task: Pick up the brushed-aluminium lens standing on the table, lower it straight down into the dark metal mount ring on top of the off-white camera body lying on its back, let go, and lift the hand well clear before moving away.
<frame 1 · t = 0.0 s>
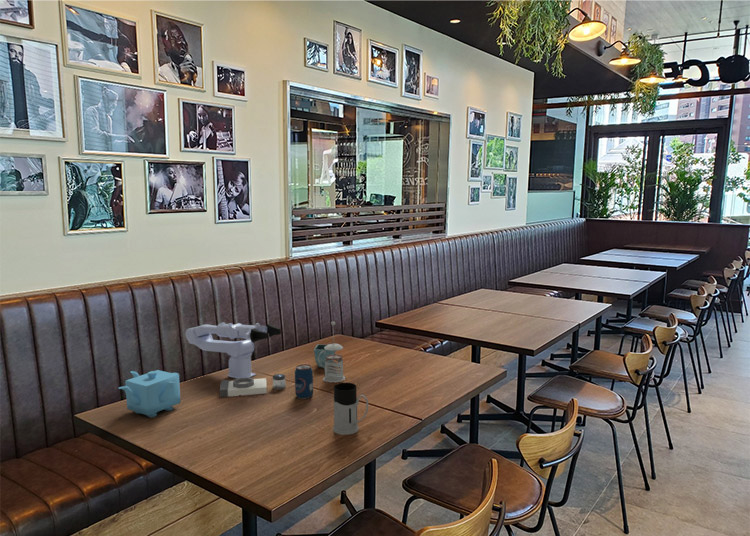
hand: (273, 333, 223), 22 cm above the table, tool horizontal, fingers open, 7 cm apart
lens: (279, 387, 223), on the table
french press: (332, 379, 233), on the table
teakettle: (152, 412, 199), on the table
grey and black mug: (351, 431, 181), on the table
soda can: (304, 396, 213), on the table
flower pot: (325, 366, 250), on the table
camera body: (243, 390, 220), on the table
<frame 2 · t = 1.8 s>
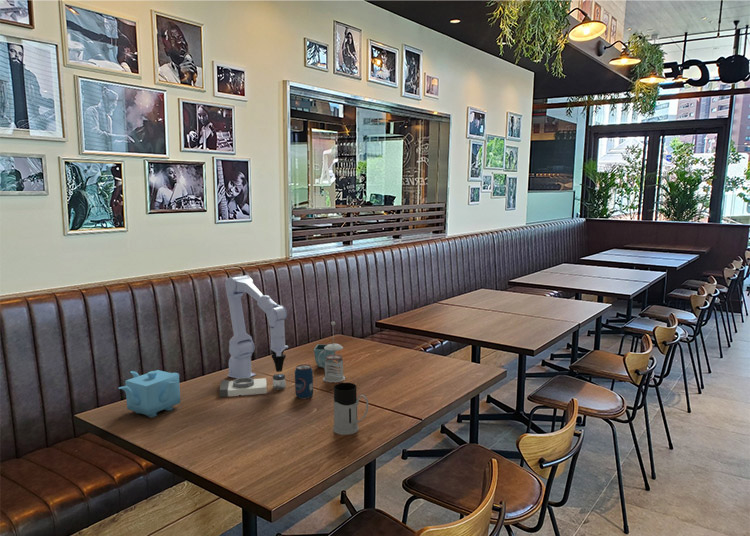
hand: (278, 368, 221), 8 cm above the table, tool pointing down, fingers open, 7 cm apart
nothing on the table moved.
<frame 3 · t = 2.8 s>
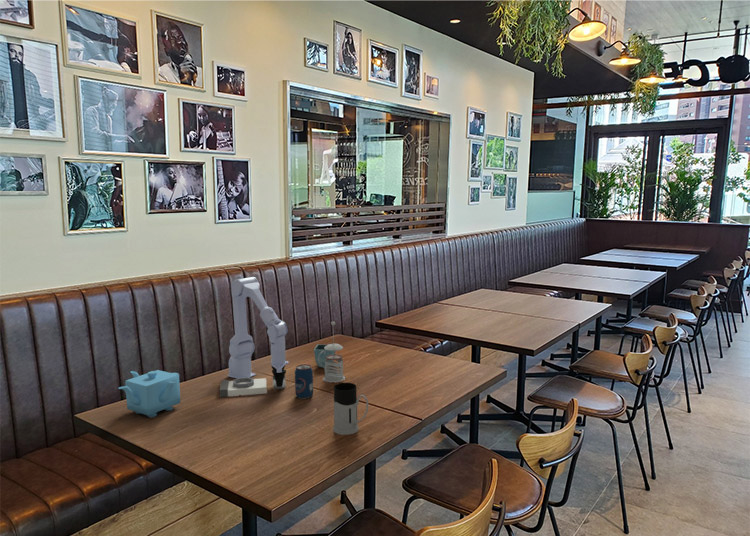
hand: (279, 384, 222), 1 cm above the table, tool pointing down, fingers closed on lens, 5 cm apart
lens: (279, 387, 223), on the table, touching gripper
everything else where it was.
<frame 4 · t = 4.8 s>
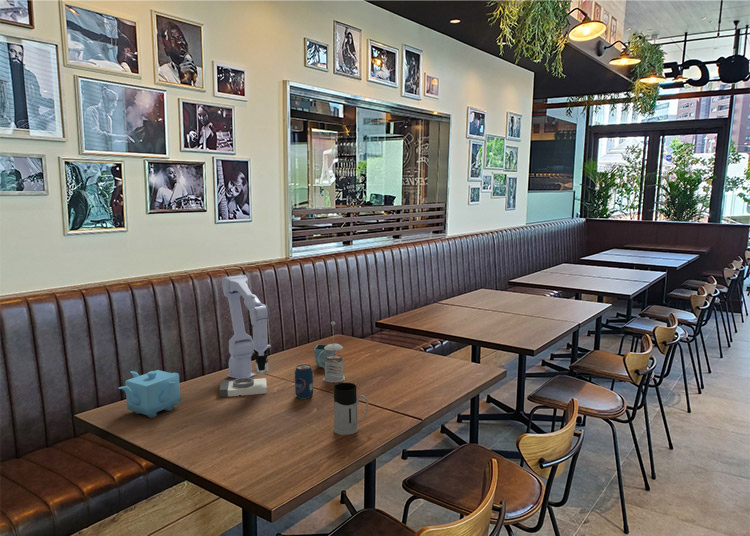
hand: (261, 367, 220), 9 cm above the table, tool pointing down, fingers closed on lens, 5 cm apart
lens: (262, 371, 220), point 7 cm above the table, touching gripper
everything else where it was.
when the fingers open (5 cm above the table, at t = 6.7 s): lens stays where it is, resting on camera body.
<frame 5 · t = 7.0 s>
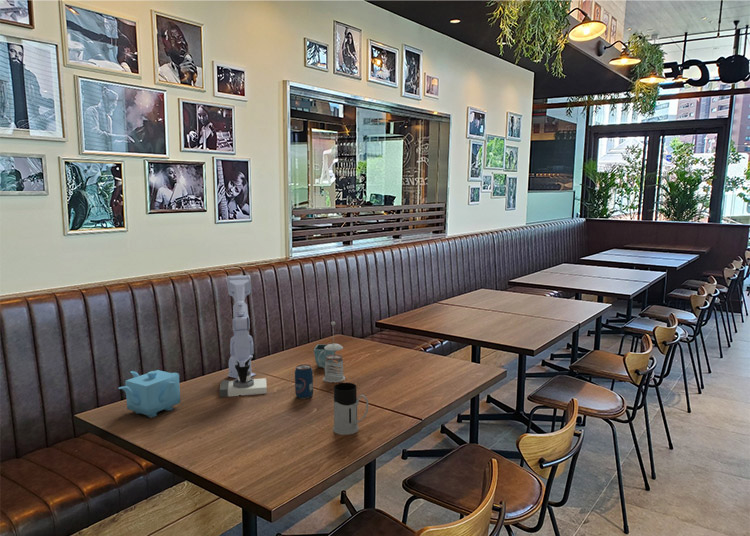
hand: (243, 378, 219), 5 cm above the table, tool pointing down, fingers open, 7 cm apart
lens: (244, 384, 219), point 3 cm above the table, touching camera body
everything else where it was.
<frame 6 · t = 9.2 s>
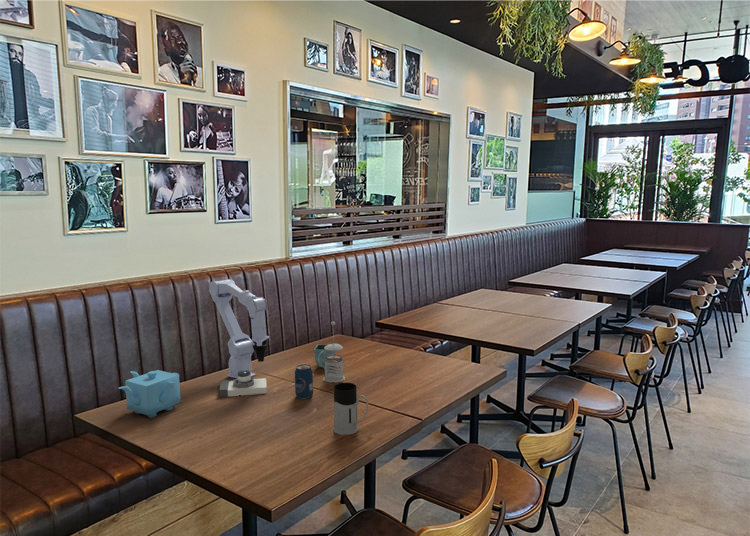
hand: (261, 359, 226), 10 cm above the table, tool pointing down, fingers open, 7 cm apart
nothing on the table moved.
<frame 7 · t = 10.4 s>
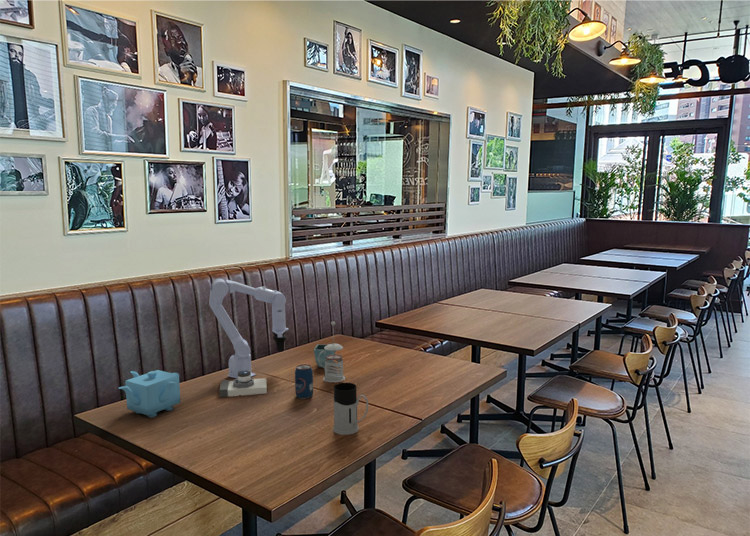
hand: (279, 349, 241), 10 cm above the table, tool pointing down, fingers open, 7 cm apart
nothing on the table moved.
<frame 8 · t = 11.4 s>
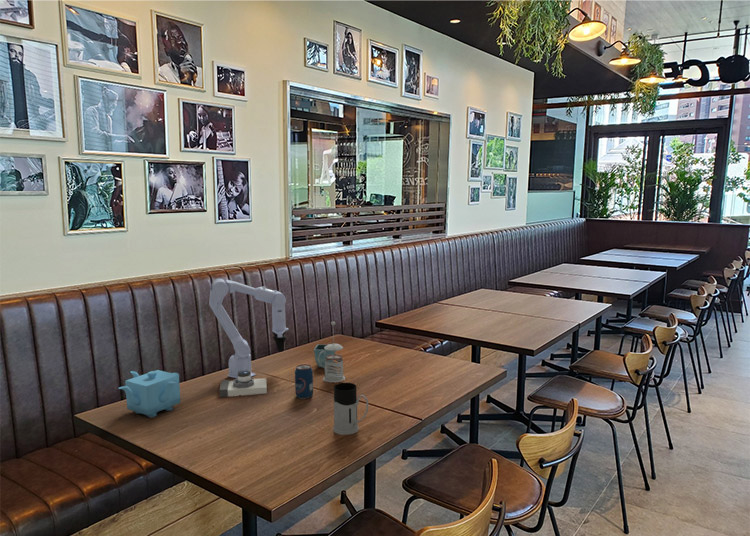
hand: (279, 349, 241), 10 cm above the table, tool pointing down, fingers open, 7 cm apart
nothing on the table moved.
at the end: lens 0.4 cm off-centre on the camera body, point 2.5 cm above the camera body's base; lens tilted 0°; the gripper is holding nothing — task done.
